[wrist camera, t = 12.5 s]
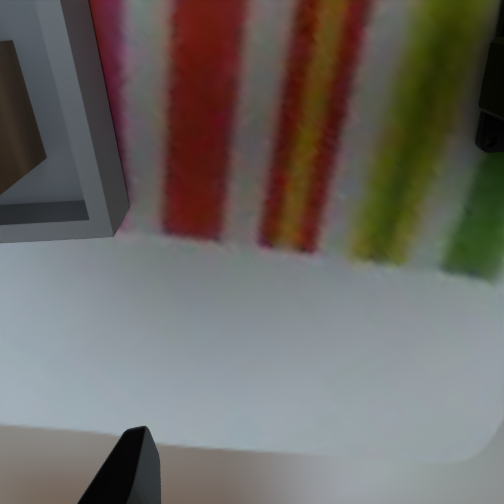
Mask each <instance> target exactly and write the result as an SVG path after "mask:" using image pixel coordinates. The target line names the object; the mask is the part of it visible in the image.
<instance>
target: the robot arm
mask: <svg viewBox="0 0 504 504" xmlns="http://www.w3.org/2000/svg"><path fill="white" fill-rule="evenodd" d="M479 107H480V109H481V114H480V119H479V125H478V130H477V135H476V146H477V147H478V148H479V149H481V150H482V151H484V152H488V153H492V152H504V0H503V1H502V6H501V11H500V16H499V21H498V27H497V32H496V37H495V39H494V40H493V41H492V42H491V43H490V47H489V52H488V57H487V62H486V68H485V73H484V78H483V83H482V89H481V94H480V99H479ZM492 135H493V139H492V141H491V142H490V143H489V144H486V143H485V141H486V139H487V138H488V137H489V136H492ZM77 504H161V478H160V459H159V453H158V451H157V448H156V445H155V443H154V440H153V438H152V435H151V433H150V430H149V429H148V427H147V426H140V427H135V428H130V429H127V430H126V431H125V432H124V433H123V434H122V436H121V437H120V439H119V441H118V442H117V444H116V445H115V447H114V448H113V450H112V451H111V453H110V454H109V456H108V457H107V459H106V460H105V462H104V463H103V465H102V466H101V468H100V469H99V471H98V472H97V474H96V476H95V477H94V479H93V480H92V482H91V483H90V485H89V486H88V488H87V489H86V491H85V492H84V494H83V495H82V497H81V498H80V500H79V501H78V503H77Z"/></svg>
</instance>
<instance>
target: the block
mask: <svg viewBox="0 0 504 504" xmlns="http://www.w3.org/2000/svg"><path fill="white" fill-rule="evenodd" d="M46 158H47V156H46V153H45V149H44V146H43V143H42V139H41V136H40V132H39V129H38V125H37V122H36V118H35V115H34V112H33V108H32V105H31V101H30V98H29V94H28V91H27V87H26V84H25V80H24V77H23V74H22V70H21V67H20V63H19V60H18V56H17V53H16V49H15V46H14V43H13V40H8V41H0V195H1V194H2V193H4V192H5V191H6V190H7V189H9V188H10V187H11V186H12V185H14V184H15V183H16V182H17V181H19V180H20V179H21V178H22V177H24V176H25V175H26V174H27V173H29V172H30V171H31V170H32V169H34V168H35V167H36V166H37V165H39V164H40V163H41V162H43V161H44V160H45V159H46Z"/></svg>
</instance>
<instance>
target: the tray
mask: <svg viewBox="0 0 504 504" xmlns="http://www.w3.org/2000/svg"><path fill="white" fill-rule="evenodd" d="M8 40H13V43H14V46H15V49H16V53H17V56H18V60H19V63H20V67H21V70H22V74H23V77H24V80H25V84H26V87H27V91H28V94H29V98H30V101H31V105H32V108H33V112H34V115H35V118H36V122H37V125H38V129H39V132H40V136H41V139H42V143H43V146H44V149H45V153H46V156H47V158H46V159H45V160H44V161H43V162H41V163H40V164H39V165H37V166H36V167H35V168H34V169H32V170H31V171H30V172H29V173H27V174H26V175H25V176H24V177H22V178H21V179H20V180H19V181H17V182H16V183H15V184H14V185H12V186H11V187H10V188H9V189H7V190H6V191H5V192H4V193H2V194H1V195H0V243H14V242H32V241H50V240H68V239H86V238H104V237H114V235H115V234H116V232H117V230H118V228H119V226H120V224H121V223H122V221H123V219H124V217H125V215H126V213H127V212H128V210H129V208H130V207H129V202H128V197H127V192H126V187H125V182H124V177H123V172H122V167H121V162H120V157H119V152H118V147H117V142H116V137H115V132H114V127H113V122H112V117H111V112H110V107H109V102H108V97H107V92H106V87H105V82H104V77H103V72H102V67H101V62H100V57H99V52H98V47H97V42H96V37H95V32H94V27H93V22H92V17H91V12H90V7H89V2H88V0H0V41H8Z"/></svg>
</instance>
